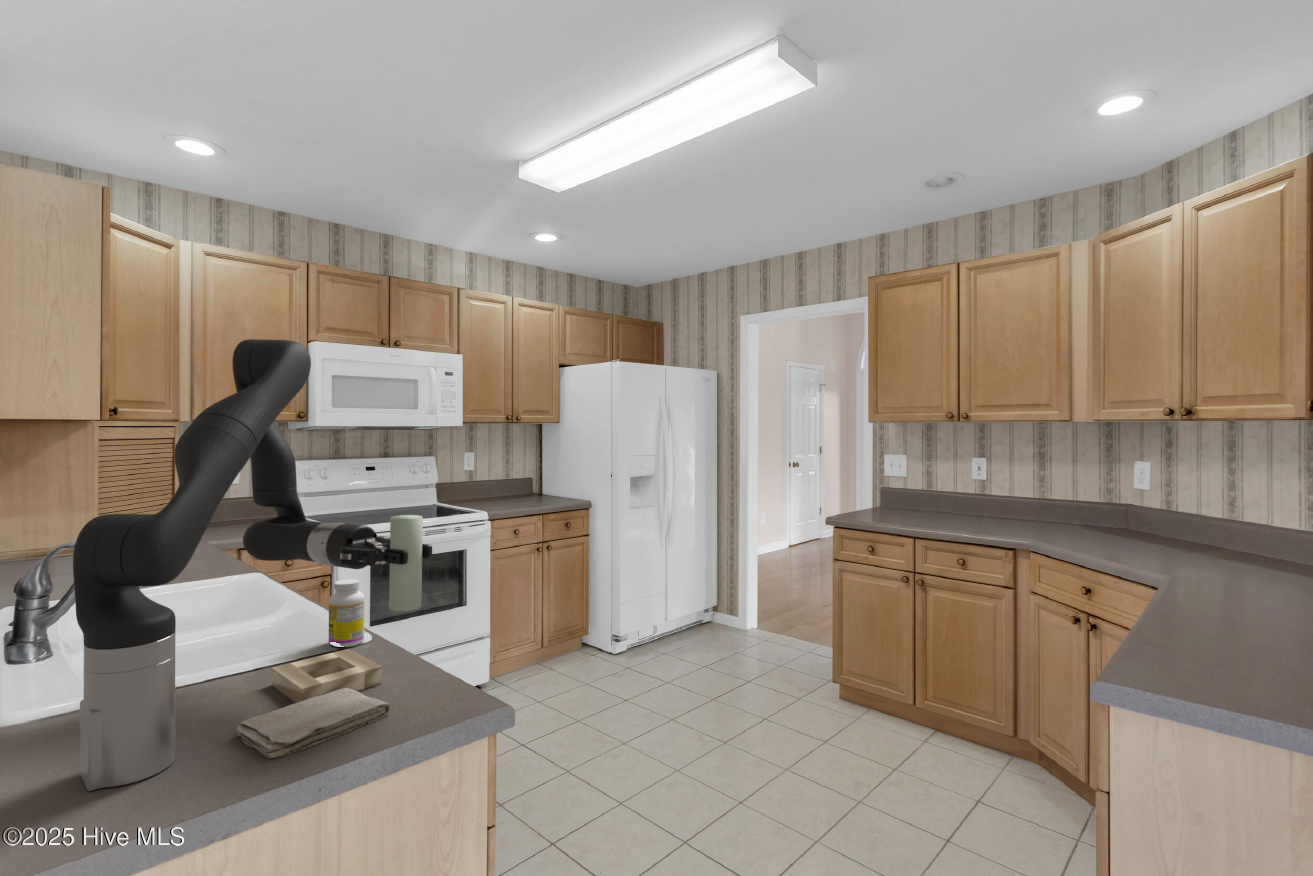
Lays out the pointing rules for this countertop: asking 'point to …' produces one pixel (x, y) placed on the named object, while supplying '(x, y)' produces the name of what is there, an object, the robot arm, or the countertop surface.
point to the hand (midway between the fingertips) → (418, 554)
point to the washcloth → (310, 722)
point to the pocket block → (326, 675)
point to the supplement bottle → (346, 613)
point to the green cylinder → (408, 576)
